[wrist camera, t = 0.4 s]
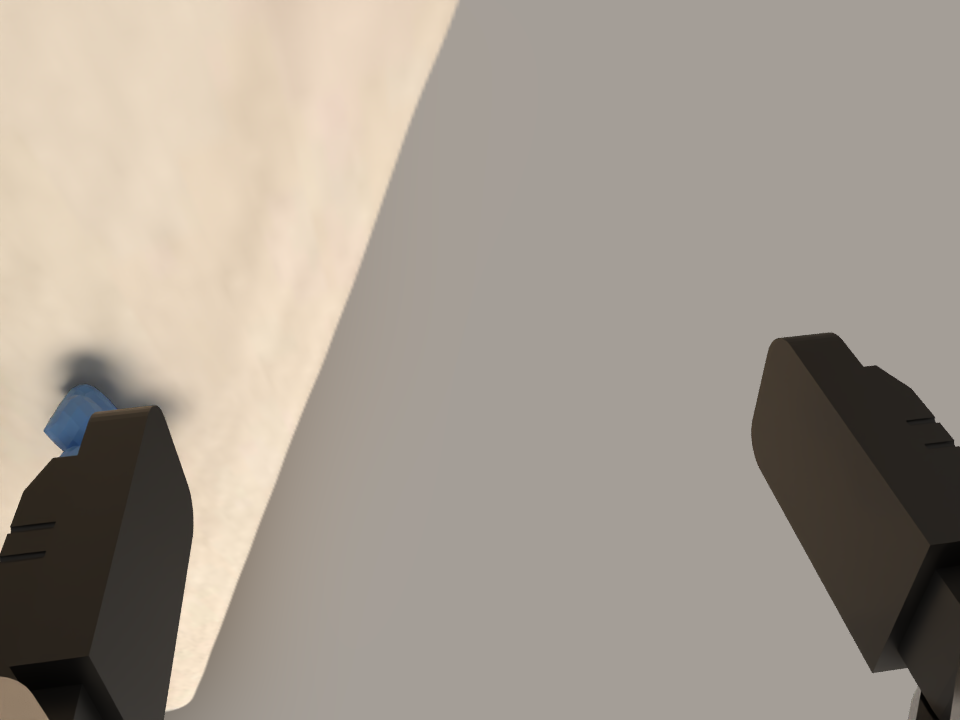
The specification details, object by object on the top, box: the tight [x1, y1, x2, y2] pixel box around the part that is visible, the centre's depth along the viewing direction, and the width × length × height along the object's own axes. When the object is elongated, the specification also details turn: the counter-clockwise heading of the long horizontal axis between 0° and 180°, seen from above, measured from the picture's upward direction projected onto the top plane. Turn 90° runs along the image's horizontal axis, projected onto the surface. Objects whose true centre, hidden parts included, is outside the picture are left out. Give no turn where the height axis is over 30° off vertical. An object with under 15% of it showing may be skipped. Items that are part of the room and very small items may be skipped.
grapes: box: [44, 384, 117, 457], centre depth 47 cm, size 12×7×12 cm, turn 170°
